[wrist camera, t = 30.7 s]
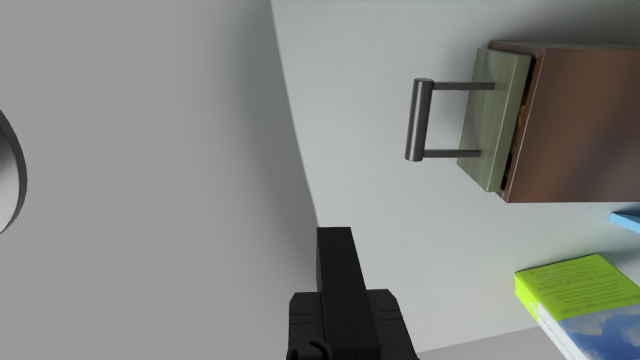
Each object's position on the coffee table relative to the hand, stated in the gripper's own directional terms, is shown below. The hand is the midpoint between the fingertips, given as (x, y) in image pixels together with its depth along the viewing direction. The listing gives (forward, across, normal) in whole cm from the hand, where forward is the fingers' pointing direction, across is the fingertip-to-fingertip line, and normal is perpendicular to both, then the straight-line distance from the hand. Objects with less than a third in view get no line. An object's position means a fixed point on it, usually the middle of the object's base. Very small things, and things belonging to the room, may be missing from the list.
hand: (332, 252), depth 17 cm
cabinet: (+22, +24, +2) cm, 32 cm away
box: (+22, +31, -19) cm, 42 cm away
